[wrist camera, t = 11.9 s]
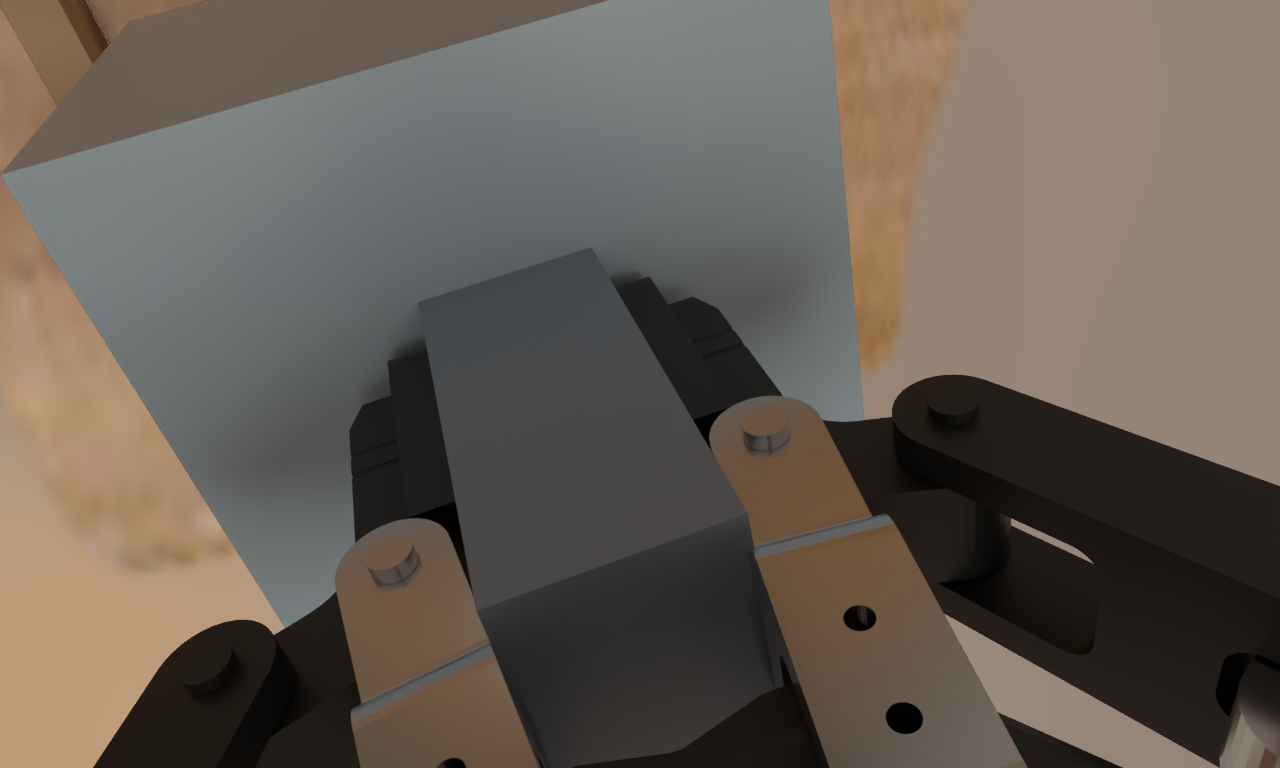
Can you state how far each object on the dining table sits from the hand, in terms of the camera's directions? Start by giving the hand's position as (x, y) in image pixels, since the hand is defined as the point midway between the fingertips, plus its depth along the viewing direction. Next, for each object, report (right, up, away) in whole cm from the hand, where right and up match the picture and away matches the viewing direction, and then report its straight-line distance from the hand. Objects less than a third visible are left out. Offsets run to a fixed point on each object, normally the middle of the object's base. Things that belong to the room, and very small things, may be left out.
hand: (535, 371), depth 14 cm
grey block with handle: (-2, +4, +8) cm, 9 cm away
